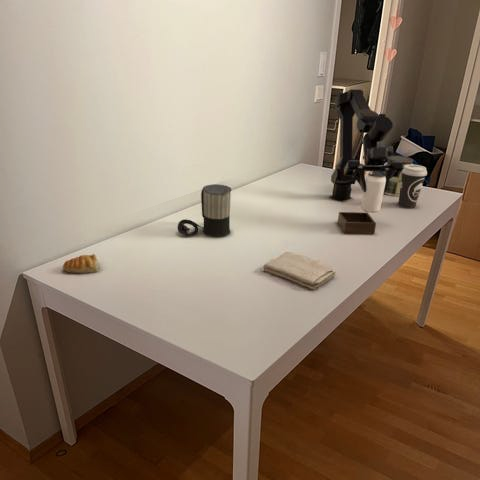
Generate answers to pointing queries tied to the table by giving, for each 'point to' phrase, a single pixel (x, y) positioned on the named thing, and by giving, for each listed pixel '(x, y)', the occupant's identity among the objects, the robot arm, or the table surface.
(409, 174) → the coffee cup
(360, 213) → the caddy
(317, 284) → the washcloth
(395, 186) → the coffee can
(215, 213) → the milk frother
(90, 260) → the pastry
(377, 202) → the can
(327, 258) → the table surface
